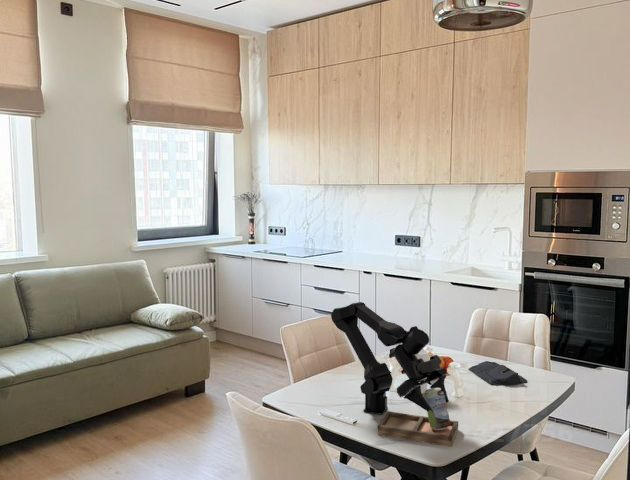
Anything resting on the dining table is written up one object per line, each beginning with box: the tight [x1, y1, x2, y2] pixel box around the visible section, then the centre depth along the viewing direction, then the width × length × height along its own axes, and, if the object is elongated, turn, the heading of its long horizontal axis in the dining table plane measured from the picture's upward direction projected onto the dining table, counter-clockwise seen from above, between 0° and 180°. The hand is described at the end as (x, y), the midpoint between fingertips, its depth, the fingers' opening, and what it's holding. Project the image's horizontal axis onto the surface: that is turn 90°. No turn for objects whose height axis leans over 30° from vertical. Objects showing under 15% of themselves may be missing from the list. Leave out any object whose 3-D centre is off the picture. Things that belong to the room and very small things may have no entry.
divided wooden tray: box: [377, 411, 459, 447], centre depth 175 cm, size 22×12×3 cm, turn 68°
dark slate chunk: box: [468, 360, 528, 387], centre depth 225 cm, size 15×22×5 cm
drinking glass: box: [415, 348, 430, 395], centre depth 208 cm, size 7×7×15 cm
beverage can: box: [423, 388, 451, 430], centre depth 173 cm, size 6×7×12 cm
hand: (438, 406), depth 171 cm, fingers open, 9 cm apart
